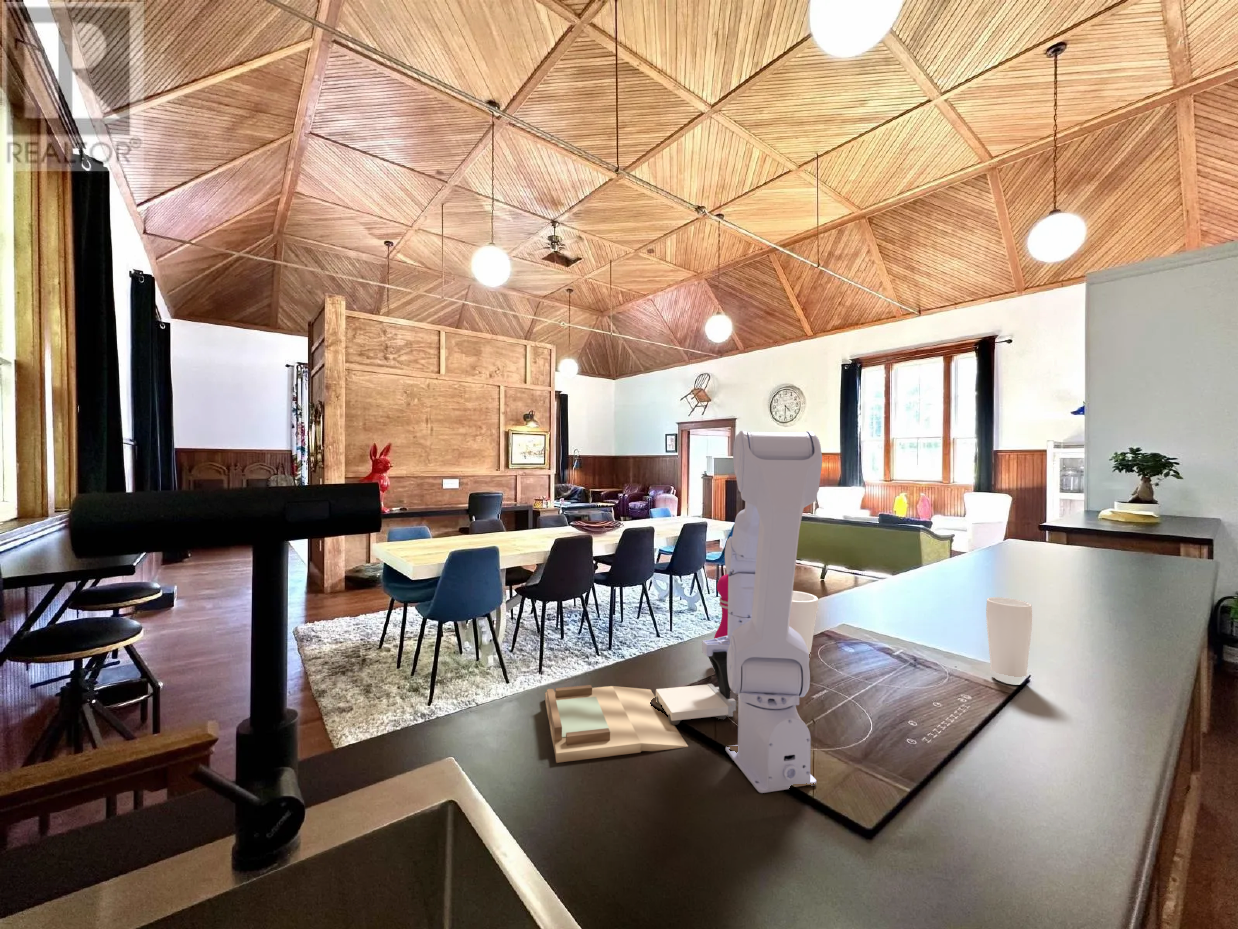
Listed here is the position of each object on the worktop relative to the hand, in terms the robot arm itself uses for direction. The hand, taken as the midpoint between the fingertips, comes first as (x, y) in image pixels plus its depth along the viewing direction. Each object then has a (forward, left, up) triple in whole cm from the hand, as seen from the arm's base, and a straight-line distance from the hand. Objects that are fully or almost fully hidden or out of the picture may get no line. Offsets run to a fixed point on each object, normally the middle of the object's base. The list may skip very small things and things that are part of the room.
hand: (744, 695), depth 80 cm
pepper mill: (+15, -5, -2) cm, 16 cm away
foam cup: (+17, -20, -2) cm, 26 cm away
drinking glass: (-1, -54, -2) cm, 54 cm away
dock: (0, +23, -3) cm, 23 cm away
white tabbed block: (0, +10, -2) cm, 10 cm away
